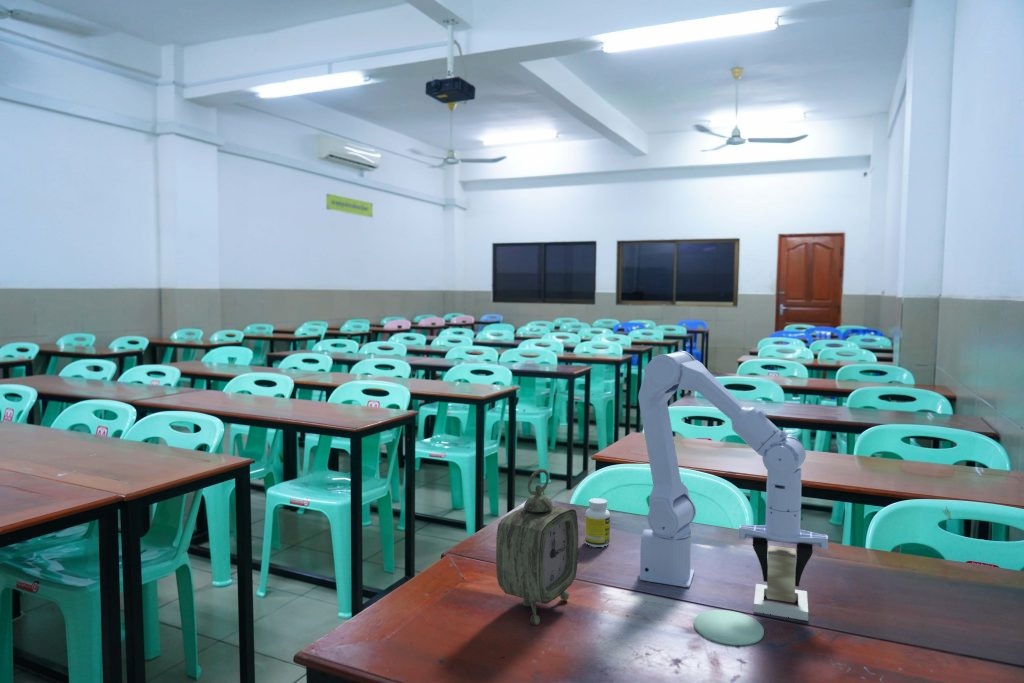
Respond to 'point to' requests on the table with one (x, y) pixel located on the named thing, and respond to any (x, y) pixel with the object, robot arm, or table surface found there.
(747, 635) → the coaster
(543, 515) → the tabletop clock
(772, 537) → the robot arm
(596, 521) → the supplement bottle
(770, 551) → the maple block
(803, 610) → the frame
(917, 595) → the table surface
